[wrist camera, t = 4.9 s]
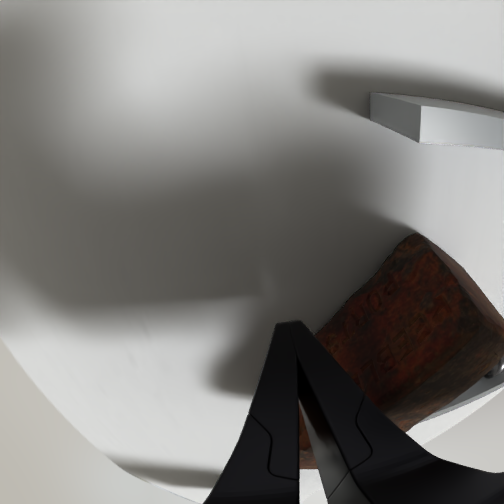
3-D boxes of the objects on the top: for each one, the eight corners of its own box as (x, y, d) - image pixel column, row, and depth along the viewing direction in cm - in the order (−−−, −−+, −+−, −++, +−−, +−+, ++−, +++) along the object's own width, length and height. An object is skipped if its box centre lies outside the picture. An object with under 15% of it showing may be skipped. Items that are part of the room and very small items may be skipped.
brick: (404, 218, 9) (484, 315, 5) (459, 261, 11) (521, 343, 7) (250, 390, 14) (256, 477, 10) (313, 402, 15) (327, 478, 12)
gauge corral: (512, 347, 16) (527, 372, 13) (332, 405, 16) (341, 444, 13) (589, 141, 7) (621, 160, 5) (369, 92, 7) (421, 106, 5)
